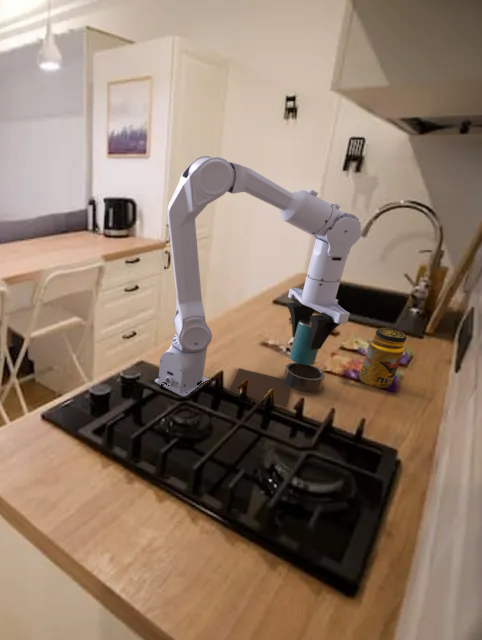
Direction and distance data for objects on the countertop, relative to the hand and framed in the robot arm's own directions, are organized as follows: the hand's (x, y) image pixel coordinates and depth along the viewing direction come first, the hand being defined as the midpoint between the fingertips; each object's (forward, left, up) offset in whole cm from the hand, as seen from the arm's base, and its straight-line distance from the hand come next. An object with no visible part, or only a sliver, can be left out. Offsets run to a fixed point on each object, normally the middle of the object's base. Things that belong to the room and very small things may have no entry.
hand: (306, 342), depth 82 cm
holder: (+1, -1, -10) cm, 10 cm away
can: (0, 0, -4) cm, 4 cm away
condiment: (+14, -10, -10) cm, 20 cm away
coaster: (-7, +4, -10) cm, 13 cm away
